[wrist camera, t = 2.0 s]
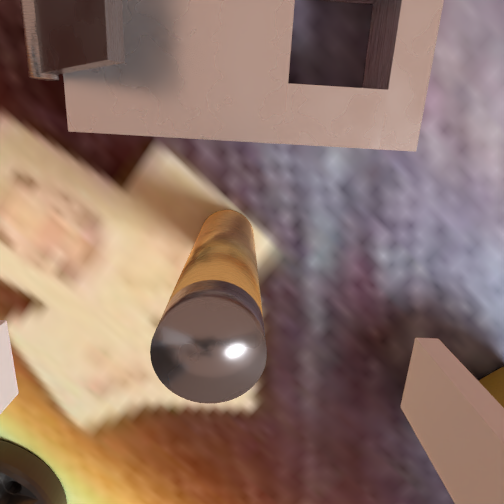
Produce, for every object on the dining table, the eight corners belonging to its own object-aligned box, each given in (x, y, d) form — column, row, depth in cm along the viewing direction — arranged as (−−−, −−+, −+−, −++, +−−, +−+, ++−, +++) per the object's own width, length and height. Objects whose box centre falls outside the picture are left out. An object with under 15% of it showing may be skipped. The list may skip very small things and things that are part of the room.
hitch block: (416, -54, 23) (462, -103, 18) (384, 148, 26) (415, 151, 22) (87, -80, 22) (44, -140, 17) (100, 132, 25) (68, 131, 21)
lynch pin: (200, 259, 28) (151, 401, 13) (201, 208, 27) (148, 300, 12) (252, 261, 29) (262, 405, 13) (254, 211, 27) (270, 305, 12)
